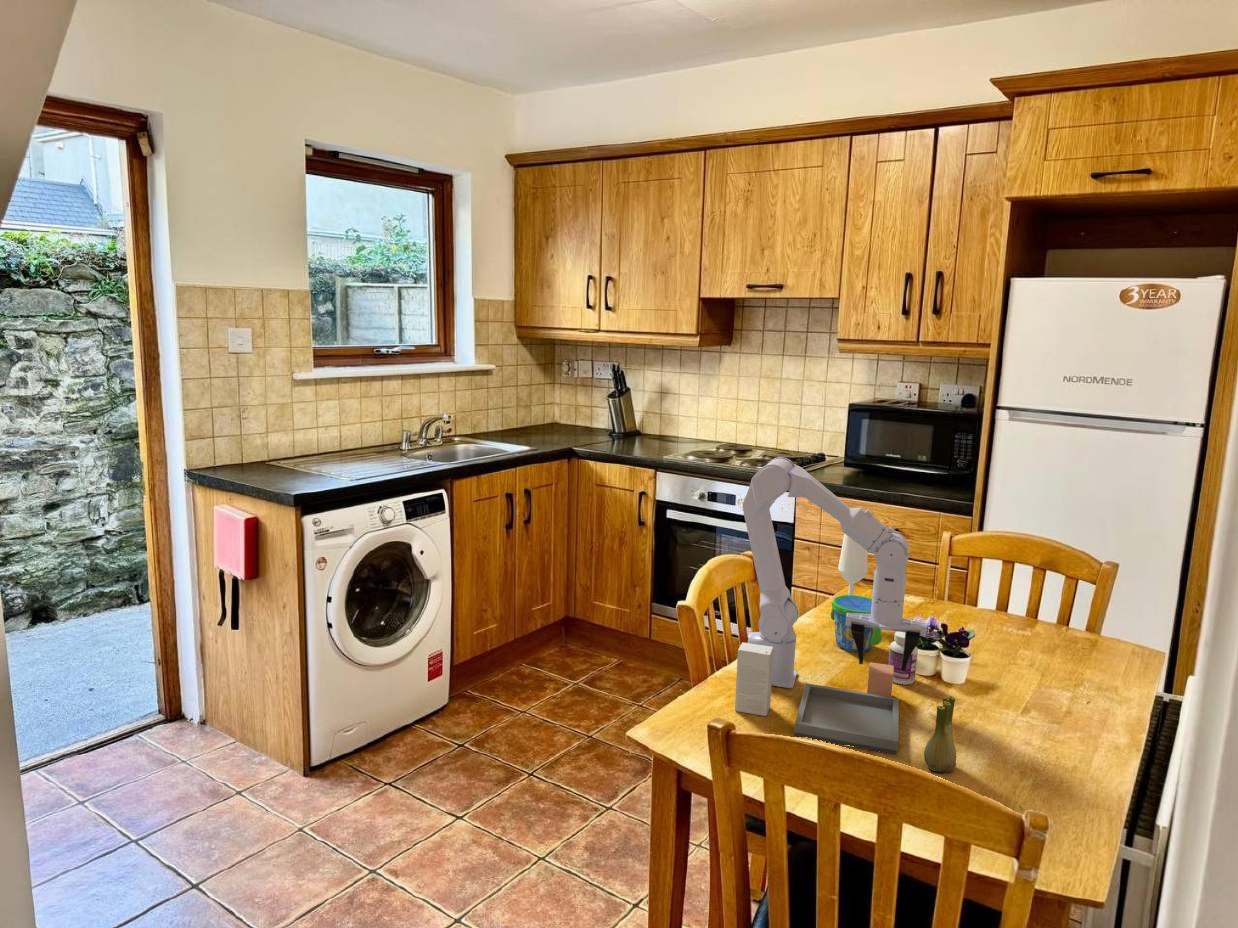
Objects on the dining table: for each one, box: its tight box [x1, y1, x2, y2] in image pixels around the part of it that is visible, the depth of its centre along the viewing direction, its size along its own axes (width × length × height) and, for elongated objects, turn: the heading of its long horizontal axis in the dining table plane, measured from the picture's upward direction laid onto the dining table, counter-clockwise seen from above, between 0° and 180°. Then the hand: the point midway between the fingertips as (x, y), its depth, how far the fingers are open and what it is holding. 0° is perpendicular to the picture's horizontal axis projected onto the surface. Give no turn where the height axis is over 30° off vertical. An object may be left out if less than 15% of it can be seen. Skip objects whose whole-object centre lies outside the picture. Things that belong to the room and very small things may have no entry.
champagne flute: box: [833, 533, 869, 623], centre depth 201 cm, size 7×7×24 cm
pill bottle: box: [887, 631, 919, 686], centre depth 171 cm, size 5×5×10 cm
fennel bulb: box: [923, 695, 957, 773], centre depth 139 cm, size 6×5×12 cm
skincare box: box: [734, 641, 774, 717], centre depth 157 cm, size 6×4×12 cm
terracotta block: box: [866, 661, 894, 697], centre depth 164 cm, size 4×4×6 cm
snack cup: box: [830, 594, 883, 653], centre depth 187 cm, size 16×10×10 cm
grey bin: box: [793, 682, 900, 756], centre depth 153 cm, size 17×17×2 cm
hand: (882, 665), depth 163 cm, fingers open, 7 cm apart
